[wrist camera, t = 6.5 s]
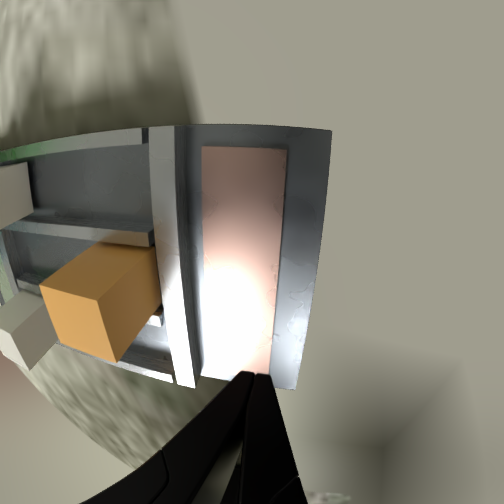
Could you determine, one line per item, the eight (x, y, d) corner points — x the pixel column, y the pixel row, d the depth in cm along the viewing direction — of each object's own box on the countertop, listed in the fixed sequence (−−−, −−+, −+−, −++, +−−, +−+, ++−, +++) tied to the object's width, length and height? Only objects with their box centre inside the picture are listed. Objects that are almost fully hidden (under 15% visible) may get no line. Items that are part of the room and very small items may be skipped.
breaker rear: (66, 330, 16) (29, 371, 12) (39, 319, 17) (3, 355, 13) (54, 294, 15) (10, 334, 11) (27, 285, 15) (-15, 319, 12)
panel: (296, 374, 16) (293, 404, 14) (10, 301, 19) (-5, 314, 17) (329, 130, 10) (334, 131, 8) (-23, 157, 14) (-44, 164, 12)
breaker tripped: (162, 302, 13) (116, 363, 9) (110, 291, 14) (60, 342, 10) (154, 246, 12) (96, 300, 8) (100, 240, 13) (39, 284, 9)
